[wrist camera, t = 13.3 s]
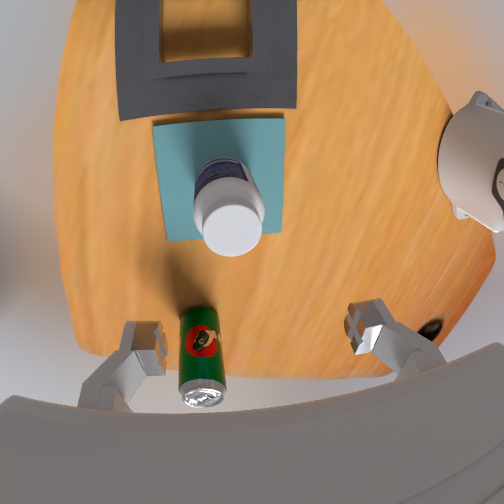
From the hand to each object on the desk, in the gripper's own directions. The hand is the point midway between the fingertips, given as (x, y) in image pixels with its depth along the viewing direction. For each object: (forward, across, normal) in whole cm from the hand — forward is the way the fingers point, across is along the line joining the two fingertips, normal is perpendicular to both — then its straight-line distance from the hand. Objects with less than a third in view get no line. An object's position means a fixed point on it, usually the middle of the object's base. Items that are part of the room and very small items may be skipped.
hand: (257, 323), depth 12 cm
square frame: (+19, +2, -15) cm, 24 cm away
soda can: (+18, +5, +18) cm, 27 cm away
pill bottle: (+18, +1, 0) cm, 18 cm away
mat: (+19, +1, 0) cm, 19 cm away
